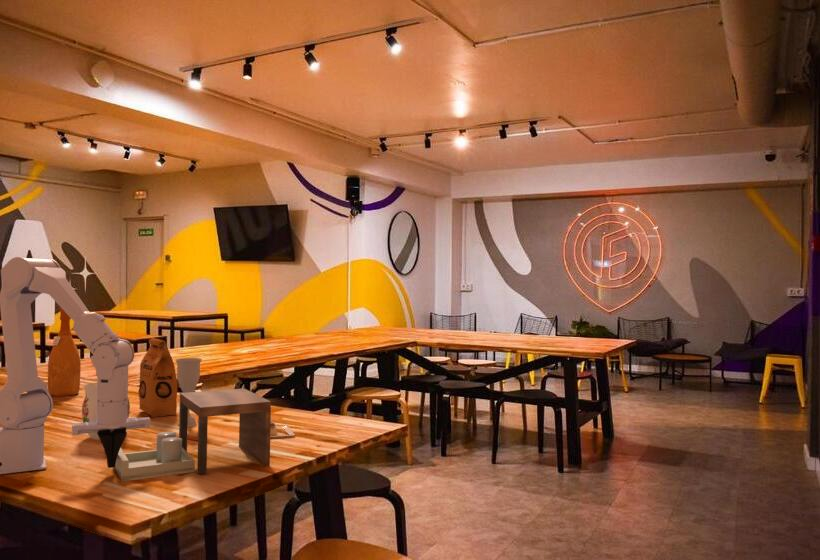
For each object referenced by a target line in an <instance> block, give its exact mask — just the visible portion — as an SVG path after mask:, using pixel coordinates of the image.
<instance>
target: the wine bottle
mask: <svg viewBox="0 0 820 560" xmlns="http://www.w3.org/2000/svg"><path fill="white" fill-rule="evenodd" d="M59 312H60V314H59V315H60V316H59V320H60V328H59V332H58V335H56V336H54V339H53V341H52V346H53V347H52V349H51V350H50V354H49V356H48V362H47V388H48V392H49V394H50V396H51V397H52V396H53V397H67V396H68V397H69V396H75V395H77V394H78V393H79V392H80V390H81V388H80V387H81V371H82V370H81V369H82V368H81V367H82V365H81V356H80V352H79V350H78V347H77V345H76V343H75V340H74V339H73V336H72V331H71V325H70V323H71V320H72V319H71V318H70V317H69V315H68V314H67V313H66V312H65V311H64V310H63V309H62V308H61V307H59Z"/></svg>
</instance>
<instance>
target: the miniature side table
mask: <svg viewBox="0 0 820 560" xmlns="http://www.w3.org/2000/svg"><path fill="white" fill-rule="evenodd" d="M188 408H189V409H190V411H191V412H193V413H194V414H196V415H197V416H198V417H197V419H198V421H197V422H198V423H197V427H198V428H197V468H196V469H197V471H196V472H197V476H199V477H200V476H201V477H202V476H207V473H208V472H207V471H208V469H207V466H208V463H207V462H208V459H207V458H208V426H209V425H208V424H209V423H208V418H209V417H218V416H229V415H239V420H238V421H239V425H238V427H239V428H238V430H239V432H238V447H239V448H240V449H241V450H242V451H244V452H246V453H247V454H248V455H250V457H252V458H253V459H255V460H256V461H257V462H258V463H260V464H261V465H262V466H263V467H265V468H266V467H270V466H271V465H270V464H271V438H270V427H271V420H272V419H271V418H272V417H271V416H272V401H271V400H269V399H266V398H265V397H263V396H260V395H258V394H256V393H255V392H253V391H250V390H248V389H246V388H245V387H243V388H232V389H229V388H228V389H216V390H204V391H203V390H202V391H194V392H187V393H183V392H180V393H179V413H178V415H179V417H178V418H179V420H178V421H179V422H178V424H179V426H178V438H182V447H183V448H184V449H185V450H186V452H187V453H188V427H187V424H188Z"/></svg>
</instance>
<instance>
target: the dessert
mask: <svg viewBox="0 0 820 560" xmlns="http://www.w3.org/2000/svg"><path fill="white" fill-rule="evenodd" d="M280 428H284V429H285V430H284V429H283V430H284V432H287V433H288V434H289V435H288V434H287V433H286V434H287V435H278V432H277V430H281V429H280ZM270 435H271V436H270V439H281V438H282V439H283V437H284V438H292V437H295V436H296V435H295V433H294V432H293V430H292V429H291V428H290V426H288V425H287V424H286V425H276V424H275V422H273V420H272V419H271V427H270Z"/></svg>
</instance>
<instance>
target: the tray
mask: <svg viewBox="0 0 820 560" xmlns="http://www.w3.org/2000/svg"><path fill="white" fill-rule="evenodd" d="M195 461H196V460H195V459H194V458H193V457H192V455H191V454H190V453H188V451H187V452H186V450H185V449H184V448H183V447H182V438H179V436H177V432H174V431H162V432H157V434H156V447H155V449H151V450H143V451H135V452H124V450H123V449H122V447H121V448H120V450H119V453H118V456H117V459H116V464H115V467H114V469H115V471H116V473H117V475H118V477H119V479H120V480H121V482H128V481H137V480H143V479H144V480H145V479H150V478H151V479H152V478H159V477H167V476H172V475H173V476H174V475H180V474H181V475H182V474H187V473H188V474H189V473H195V471H196V470H195V467H196V466H195Z"/></svg>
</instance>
